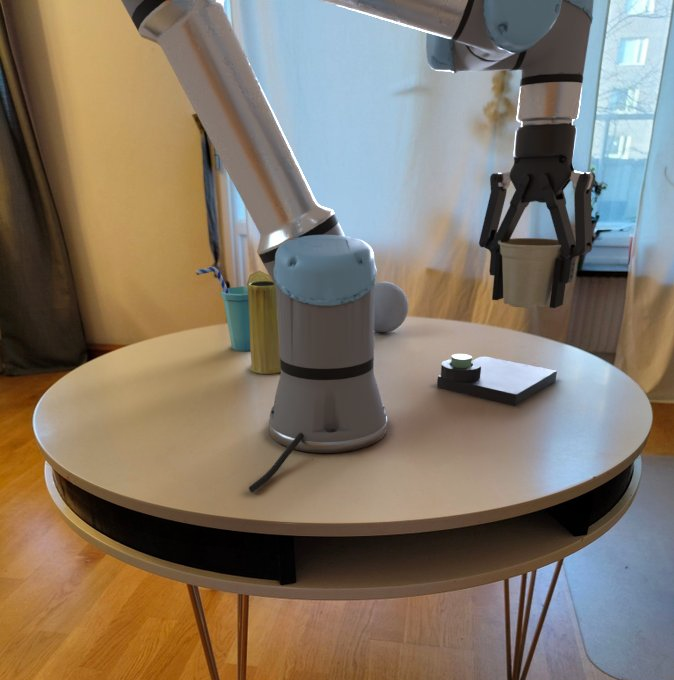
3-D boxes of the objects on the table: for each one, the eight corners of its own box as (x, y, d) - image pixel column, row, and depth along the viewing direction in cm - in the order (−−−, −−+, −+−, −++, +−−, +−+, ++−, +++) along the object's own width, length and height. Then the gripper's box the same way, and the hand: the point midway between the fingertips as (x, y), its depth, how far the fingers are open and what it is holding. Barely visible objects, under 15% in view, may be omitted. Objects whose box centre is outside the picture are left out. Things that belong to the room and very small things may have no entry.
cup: (201, 354, 112) (192, 270, 106) (206, 343, 119) (197, 263, 113) (278, 351, 113) (273, 268, 107) (278, 340, 120) (273, 261, 114)
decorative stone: (362, 325, 131) (362, 277, 127) (409, 326, 129) (411, 278, 125) (355, 337, 122) (355, 286, 118) (405, 338, 120) (407, 287, 116)
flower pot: (552, 297, 92) (560, 237, 88) (567, 311, 84) (576, 245, 80) (489, 297, 93) (494, 237, 89) (496, 311, 85) (502, 245, 81)
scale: (513, 406, 86) (516, 383, 85) (432, 387, 94) (434, 365, 93) (555, 380, 96) (558, 359, 95) (479, 365, 104) (481, 344, 103)
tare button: (464, 370, 91) (465, 360, 91) (447, 367, 93) (447, 357, 93) (474, 366, 93) (475, 356, 93) (457, 362, 95) (458, 352, 95)
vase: (282, 362, 107) (278, 278, 101) (291, 372, 102) (286, 285, 96) (248, 365, 106) (241, 281, 99) (254, 376, 100) (248, 287, 94)
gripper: (641, 120, 75) (609, 307, 84) (487, 128, 87) (475, 290, 97) (620, 118, 70) (588, 317, 79) (460, 127, 82) (450, 297, 92)
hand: (526, 302), depth 88 cm, fingers closed on flower pot, 8 cm apart
